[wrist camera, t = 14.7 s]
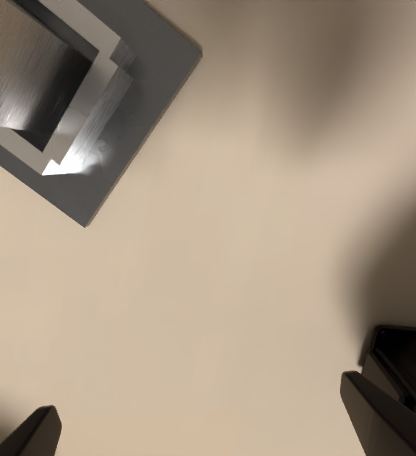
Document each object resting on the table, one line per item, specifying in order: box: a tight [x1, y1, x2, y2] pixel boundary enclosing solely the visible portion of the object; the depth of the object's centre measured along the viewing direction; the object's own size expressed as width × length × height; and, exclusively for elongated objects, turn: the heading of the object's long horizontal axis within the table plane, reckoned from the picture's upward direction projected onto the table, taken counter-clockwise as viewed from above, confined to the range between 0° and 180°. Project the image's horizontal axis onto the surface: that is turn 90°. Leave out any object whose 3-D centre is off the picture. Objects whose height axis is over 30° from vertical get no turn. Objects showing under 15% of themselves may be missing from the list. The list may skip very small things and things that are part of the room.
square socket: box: [0, 0, 202, 228], centre depth 16 cm, size 14×14×3 cm
